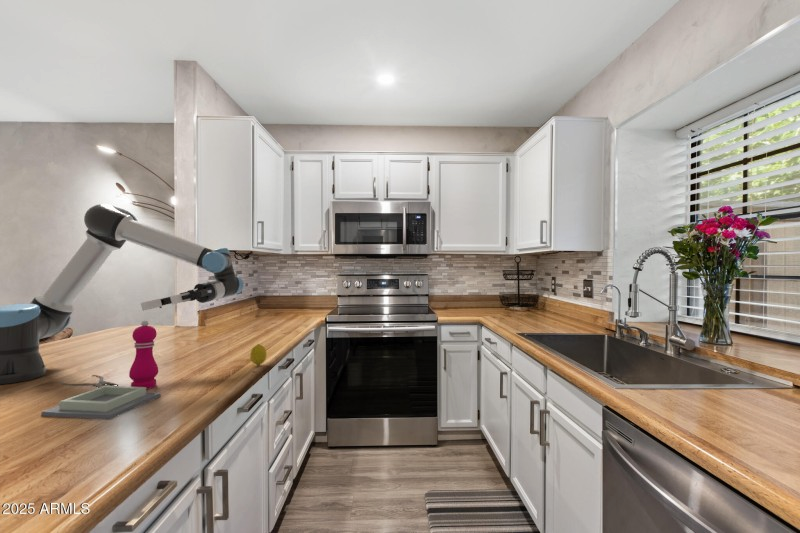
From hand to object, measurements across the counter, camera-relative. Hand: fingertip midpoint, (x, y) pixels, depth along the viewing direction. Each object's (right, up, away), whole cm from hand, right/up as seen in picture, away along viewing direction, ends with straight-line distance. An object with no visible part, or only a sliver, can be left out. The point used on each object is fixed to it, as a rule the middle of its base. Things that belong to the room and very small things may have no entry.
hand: (156, 303), depth 120 cm
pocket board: (+3, -24, -25) cm, 35 cm away
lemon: (+27, -25, +16) cm, 40 cm away
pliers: (-15, -25, -5) cm, 29 cm away
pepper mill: (+3, -24, -10) cm, 26 cm away
